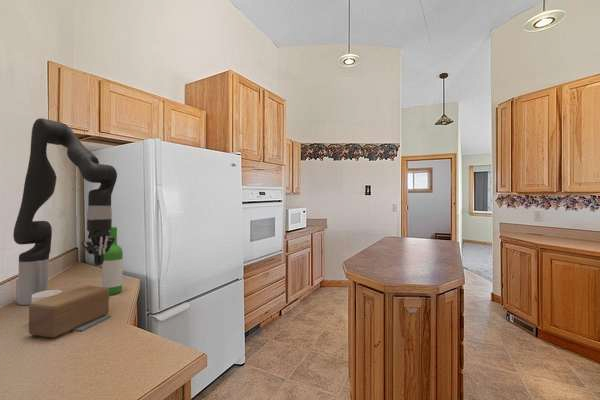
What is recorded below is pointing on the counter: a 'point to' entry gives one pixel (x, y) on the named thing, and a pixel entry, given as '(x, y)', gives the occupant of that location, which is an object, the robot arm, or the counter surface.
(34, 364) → the counter surface
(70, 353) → the counter surface
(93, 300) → the wooden block
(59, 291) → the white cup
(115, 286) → the wine bottle
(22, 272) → the robot arm
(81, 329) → the slate rubber mat
